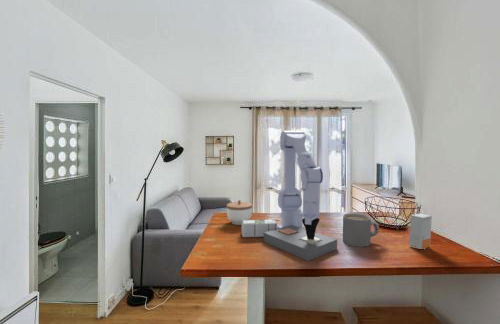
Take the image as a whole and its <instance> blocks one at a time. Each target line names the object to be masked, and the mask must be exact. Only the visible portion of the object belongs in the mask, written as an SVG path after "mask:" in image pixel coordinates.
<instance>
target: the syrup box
mask: <svg viewBox="0 0 500 324" xmlns="http://www.w3.org/2000/svg"><path fill="white" fill-rule="evenodd" d="M275 229H278V223H277V221H276V219H249V220H242V225H241V235H242V236H241V237H242V238H261V237H263V238H264V232H267V231H271V230H275Z"/></svg>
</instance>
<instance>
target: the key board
mask: <svg viewBox="0 0 500 324" xmlns="http://www.w3.org/2000/svg"><path fill="white" fill-rule="evenodd" d="M286 228H289V229H292V230H295V231H297V233H296V234H292V235H289V236H288V235H285V234H282V233H280V232H279V230H283V229H286ZM306 236H307V234H306V229H305V228H300V227H297V226H294V225H290V226H286V227H282V228H278V229H275V230H271V231H267V232H264V237H263V242H264V243H266V244H269V245H271V246H273V247H275V248H277V249H280V250H282V251H285V252H287V253H289V254H292V256H293V255H294V256H296V257H298V258H300V259H303V260H305V261H308V262H310V261H313V260H314V259H317V258H319V257H321V256H323V255H326V254H329V253H330V252H333V251H335V250H337V249H338V239H336V238H334V237H331V236H328V235H326V234H321V233H318V232H315V237H316V238H319V239H321V241H320V242H318V243H315V244H310V243H307V242H304V241H301V238H303V237H306Z"/></svg>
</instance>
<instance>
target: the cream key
mask: <svg viewBox="0 0 500 324" xmlns="http://www.w3.org/2000/svg"><path fill="white" fill-rule="evenodd" d="M301 241H304V242H307V243H310V244H315V243H318V242H320V241H321V239H319V238H316V237H314V240H311V239H307V236H306V237H303V238H301Z"/></svg>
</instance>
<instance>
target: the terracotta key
mask: <svg viewBox="0 0 500 324" xmlns="http://www.w3.org/2000/svg"><path fill="white" fill-rule="evenodd" d="M279 232H280V233H282V234H285V235H288V236H289V235H292V234H296V233H297V231H295V230H292V229H289V228H286V229H283V230H279Z"/></svg>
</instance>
